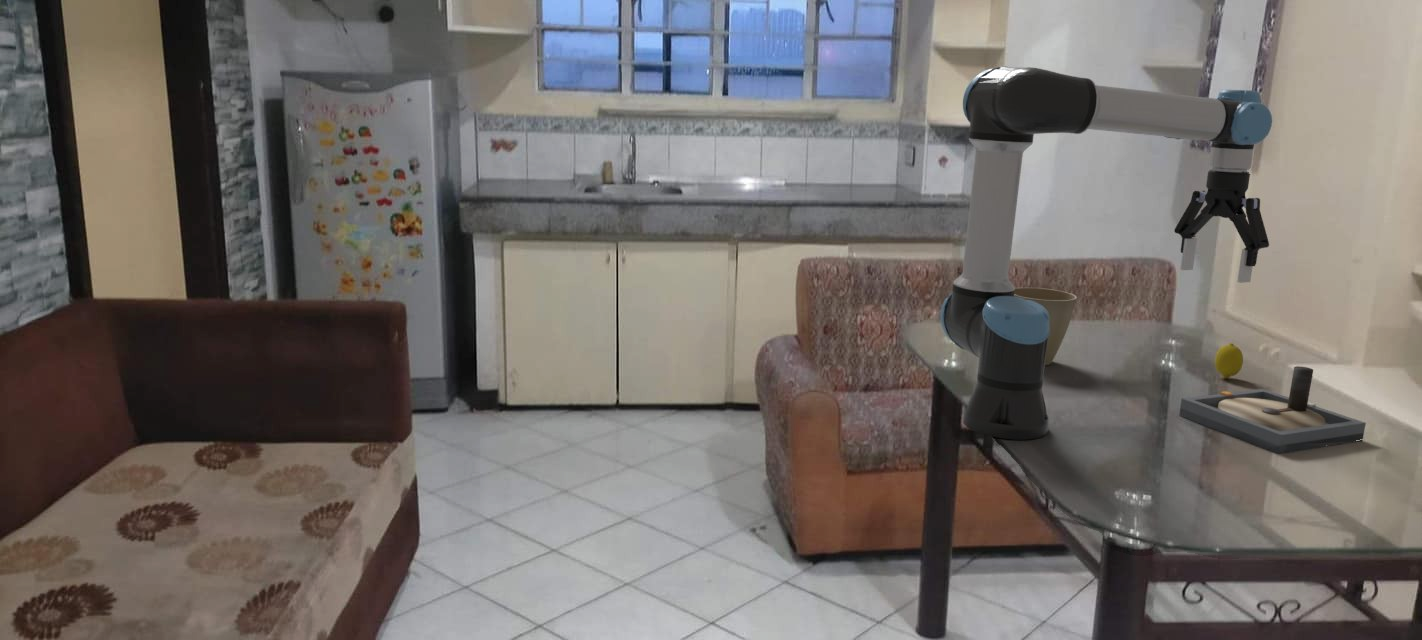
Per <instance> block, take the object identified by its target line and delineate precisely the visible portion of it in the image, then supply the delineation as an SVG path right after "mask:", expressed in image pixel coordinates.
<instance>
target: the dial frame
mask: <svg viewBox="0 0 1422 640" xmlns="http://www.w3.org/2000/svg"><path fill="white" fill-rule="evenodd" d="M1230 398H1257V399H1266V400H1273V401H1279V402H1284V403H1288V401H1289V397H1288V396H1285V395H1283V394H1279V393H1277V392H1273V391H1270V390H1268V389H1264V388H1258V389H1257V388H1256V389H1250V390H1241V391H1232V392H1229V391H1227V390H1226V391H1220V393H1217V394H1216V393H1215V394H1207V395H1200V396H1191V397H1183V398H1181V402H1180V408H1179V414H1178V415H1179V417H1181V418H1184V419H1187V420H1190V421H1193V422H1195V423H1197V424H1199V425H1200V424H1201V425H1203V426H1205V427H1208V428H1210V429H1213V430H1215V431H1218V432H1221V433H1223V434H1226V435H1229V436H1231V437H1234V438H1237V439H1239V440H1241V441H1244V442H1246V443H1249V444H1252V445H1255V446H1257V447H1259V448H1262V449H1265V450H1267V451H1270V452H1273V453H1275V454H1277V455H1279V454H1286V453H1290V452H1291V453H1292V452H1293V453H1294V452H1298V451H1304V449H1306V450H1312V449H1318V448H1324V447H1323V446H1325V447H1327V446H1326V445H1332V446H1337V445H1344V444H1345V445H1346V444H1350V443H1351V444H1352V443H1355V442H1354V441H1356V440H1360V439H1363V440H1364V436H1365V435H1364V434H1365V429H1366V424H1367V423H1366V422H1365V421H1362V420H1358V419H1355V418H1352V417H1349V416H1346V415H1343V414H1340V413H1337V412H1334V411H1332V410H1328V409H1325V408H1323V407H1319V406H1316V405H1317V404H1316V403H1313V402H1310V401H1308V404H1307V409H1309V410H1311V411H1313V412H1316V413H1318V414H1319V415H1321V416H1322V417H1323V418H1324V419H1325V425H1321V426H1314V427H1307V428H1300V429H1293V430H1286V431H1277V430H1274V429H1272V428H1269V427H1266V426H1264V425H1261V424H1258V423H1255V422H1253V421H1250V420H1247V419H1244V418H1242V417H1239V416H1236V415H1233V414H1231V413H1228V412H1225V411H1222V410H1220V409H1218V404H1219V402H1220V401H1222V400H1225V399H1230Z"/></svg>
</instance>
